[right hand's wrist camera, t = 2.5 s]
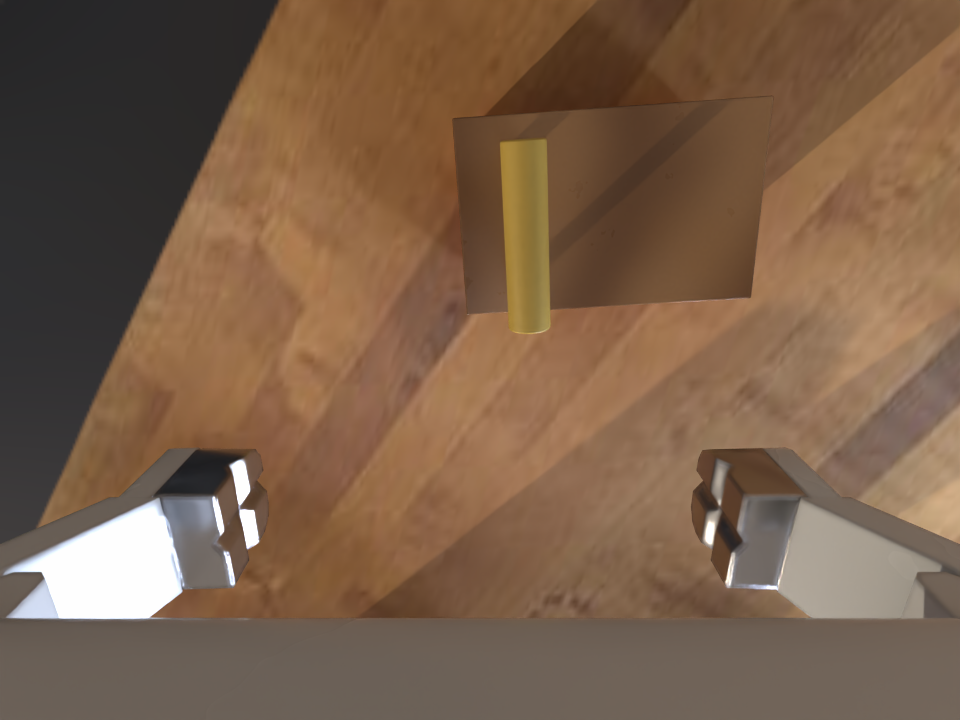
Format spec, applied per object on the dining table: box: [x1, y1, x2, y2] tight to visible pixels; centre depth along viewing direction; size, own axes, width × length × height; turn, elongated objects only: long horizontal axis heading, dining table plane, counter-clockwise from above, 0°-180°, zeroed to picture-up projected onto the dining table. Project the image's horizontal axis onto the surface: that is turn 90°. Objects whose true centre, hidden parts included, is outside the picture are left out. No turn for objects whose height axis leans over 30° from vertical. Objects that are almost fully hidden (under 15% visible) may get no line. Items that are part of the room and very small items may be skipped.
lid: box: [452, 96, 773, 334], centre depth 24 cm, size 15×10×8 cm, turn 94°
